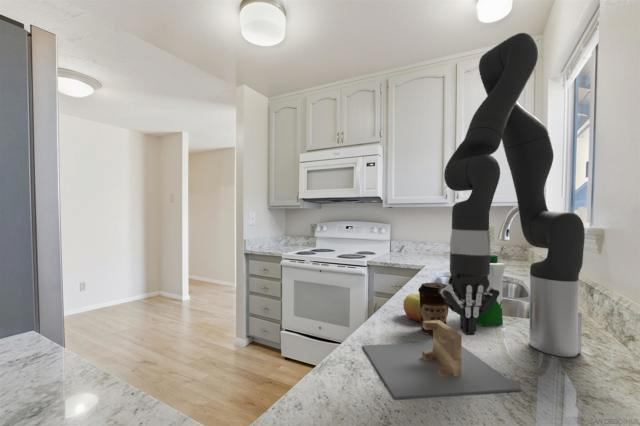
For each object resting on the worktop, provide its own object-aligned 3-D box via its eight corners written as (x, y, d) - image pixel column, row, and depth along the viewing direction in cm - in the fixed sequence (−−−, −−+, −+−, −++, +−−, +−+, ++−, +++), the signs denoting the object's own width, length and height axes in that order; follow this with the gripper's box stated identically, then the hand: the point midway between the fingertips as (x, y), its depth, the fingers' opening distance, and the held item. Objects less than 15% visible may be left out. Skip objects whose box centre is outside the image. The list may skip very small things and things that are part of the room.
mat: (455, 343, 73) (456, 341, 73) (521, 390, 53) (521, 388, 53) (362, 347, 70) (362, 345, 70) (394, 399, 50) (394, 396, 50)
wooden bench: (439, 356, 65) (439, 320, 65) (461, 376, 57) (461, 334, 57) (422, 357, 65) (422, 320, 65) (441, 377, 57) (442, 335, 57)
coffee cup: (454, 340, 75) (455, 289, 75) (420, 337, 76) (420, 287, 77) (446, 328, 83) (447, 282, 84) (416, 325, 85) (416, 280, 85)
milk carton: (508, 325, 87) (508, 257, 87) (483, 327, 84) (484, 257, 84) (483, 315, 95) (484, 253, 95) (460, 317, 92) (461, 254, 93)
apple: (440, 318, 91) (440, 292, 92) (433, 328, 83) (434, 299, 83) (408, 312, 97) (408, 287, 97) (399, 321, 88) (399, 294, 89)
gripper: (485, 249, 67) (484, 326, 66) (431, 249, 65) (429, 328, 65) (511, 253, 59) (510, 340, 59) (450, 253, 57) (448, 342, 57)
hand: (468, 333), depth 62 cm, fingers closed
